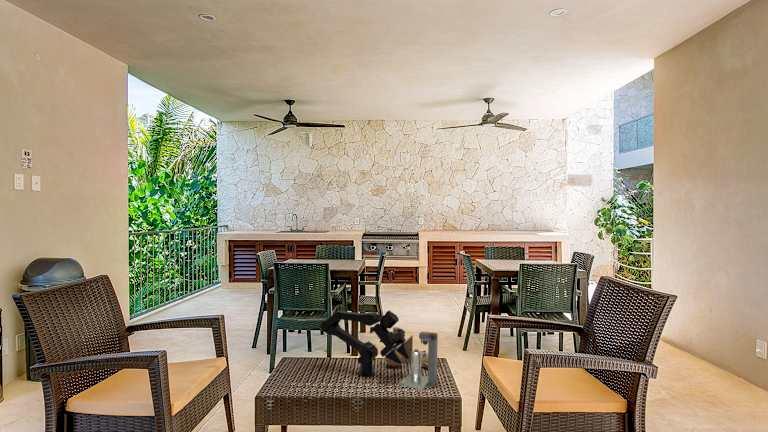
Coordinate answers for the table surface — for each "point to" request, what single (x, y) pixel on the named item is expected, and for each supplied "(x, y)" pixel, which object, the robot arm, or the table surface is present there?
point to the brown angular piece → (408, 347)
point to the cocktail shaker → (416, 365)
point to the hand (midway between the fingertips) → (404, 361)
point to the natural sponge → (393, 361)
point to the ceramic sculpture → (425, 359)
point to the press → (432, 364)
